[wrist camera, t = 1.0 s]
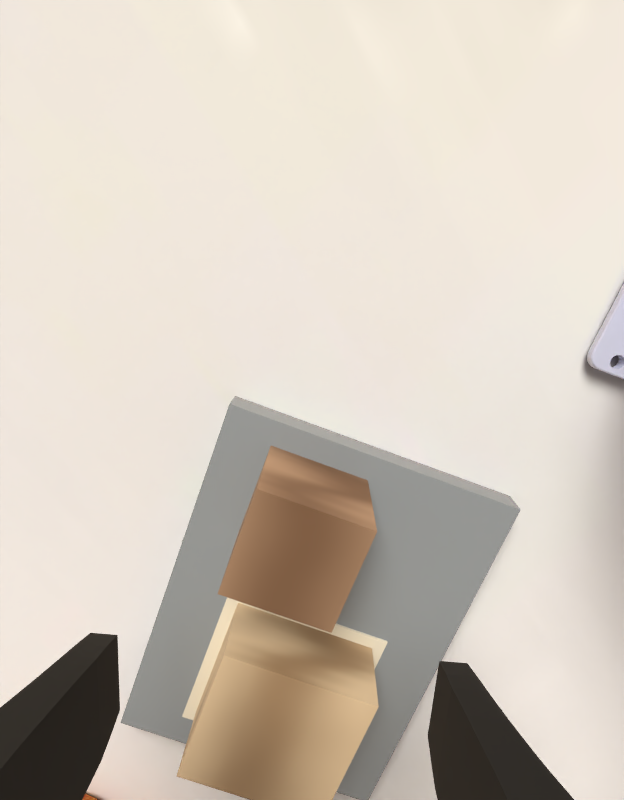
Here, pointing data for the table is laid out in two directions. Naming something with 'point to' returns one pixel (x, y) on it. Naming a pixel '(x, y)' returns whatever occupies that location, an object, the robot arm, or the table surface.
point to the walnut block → (301, 540)
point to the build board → (371, 592)
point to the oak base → (280, 711)
